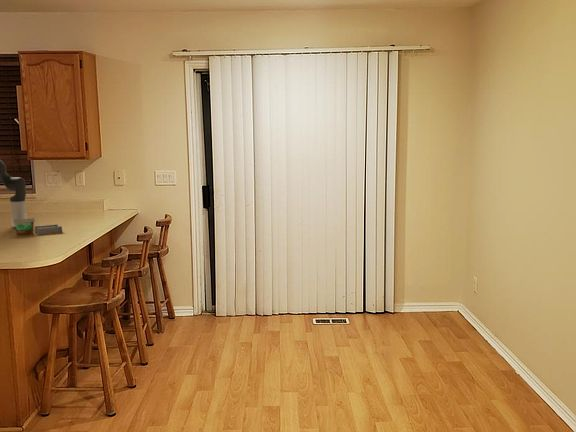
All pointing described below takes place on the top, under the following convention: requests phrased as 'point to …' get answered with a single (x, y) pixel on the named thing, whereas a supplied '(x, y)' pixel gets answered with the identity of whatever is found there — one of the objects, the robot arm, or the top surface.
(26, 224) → the food container
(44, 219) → the top surface
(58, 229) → the dock
